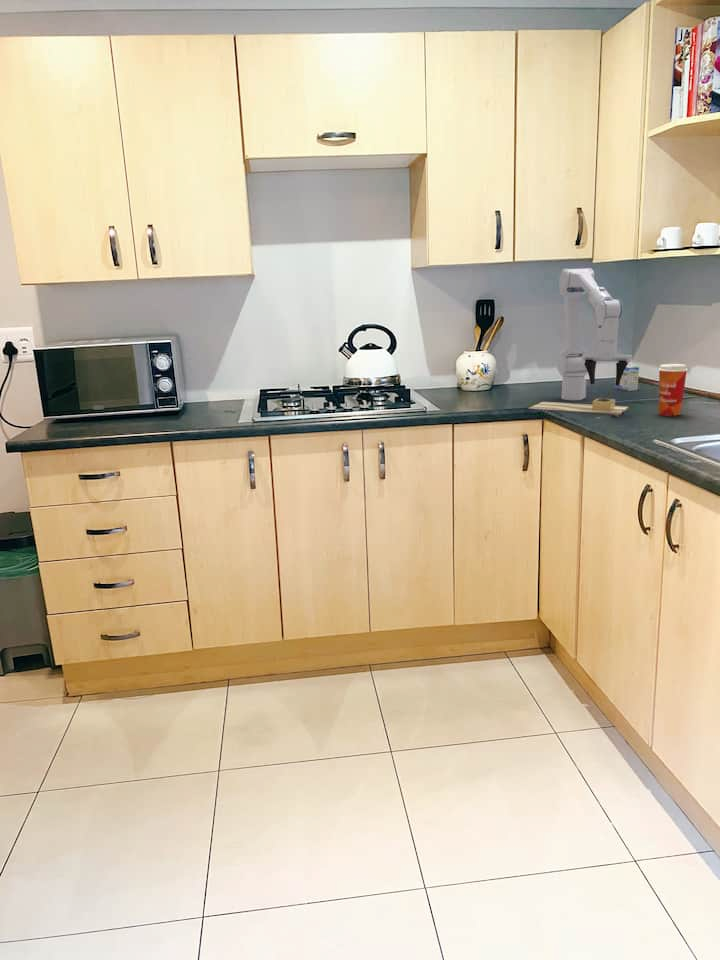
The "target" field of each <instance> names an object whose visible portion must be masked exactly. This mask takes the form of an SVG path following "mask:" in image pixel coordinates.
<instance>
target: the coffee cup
mask: <svg viewBox="0 0 720 960" xmlns="http://www.w3.org/2000/svg"><path fill="white" fill-rule="evenodd" d="M688 370H689V369H688V366H687V365H686V364H682V363H662V364H660V365H659V368H658V371H659V372H658V373H659V374H658V379H659V380H658V415H659V414H661V415H660V416H662V415H669V416H668V417H676V416H675V415H679V416H680V415H681V412H682V405H683V399H684V398H683V397H684V391H685V386H686V385H685V384H686V378H687V372H688ZM672 415H673V416H672Z"/></svg>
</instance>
